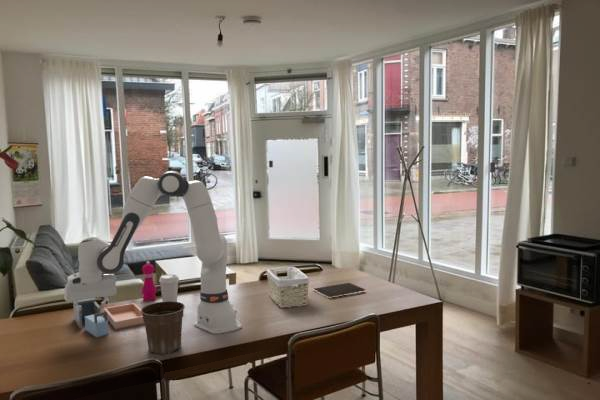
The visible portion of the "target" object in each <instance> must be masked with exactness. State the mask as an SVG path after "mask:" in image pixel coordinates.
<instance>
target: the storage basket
mask: <svg viewBox="0 0 600 400" xmlns="http://www.w3.org/2000/svg"><path fill="white" fill-rule="evenodd" d="M284 273H286V276H278V274H284ZM266 275H267V276H266V277H267V283H268V295H269V296H271V297H270V298H271V299H272V300H273V301H274V303H275V304H276V305H277V304H278V305H277V306H278V307H279V306H280V307H281V309H284V308H283V307H289V308H292V307H291V306H298V307H300V306H299V305H305V304H307V305H308V300H309V299H308V297H309V295H308V294H309V283H310V279H309V276H308V275H306V274H305V273H304V272H302V271H301V269H299V268H297V267H294V266H289V267H288V266H287V267H274V268H268V269H266ZM305 306H306V305H305ZM280 307H279V308H280Z"/></svg>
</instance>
